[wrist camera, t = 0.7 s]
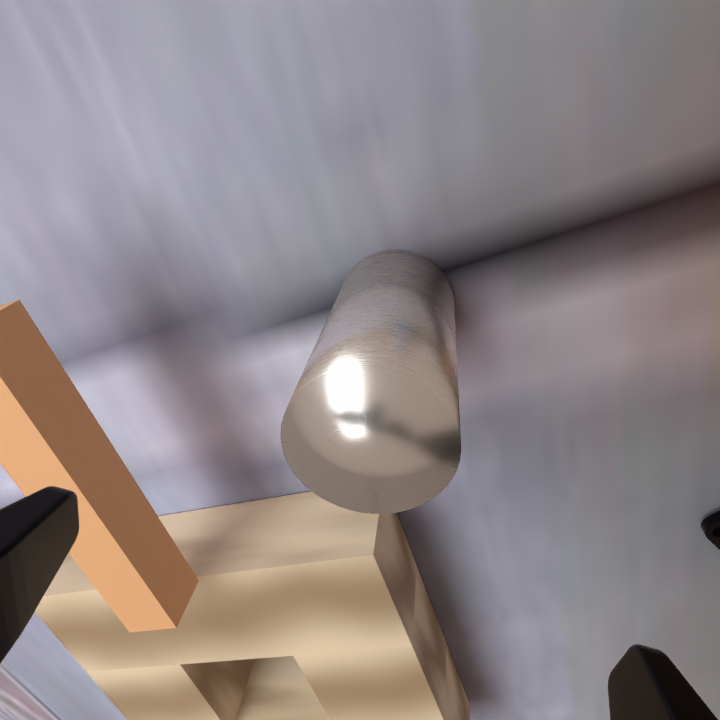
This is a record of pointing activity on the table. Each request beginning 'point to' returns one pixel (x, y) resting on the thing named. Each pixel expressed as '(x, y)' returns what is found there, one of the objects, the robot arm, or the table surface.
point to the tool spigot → (380, 391)
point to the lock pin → (86, 482)
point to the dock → (273, 622)
